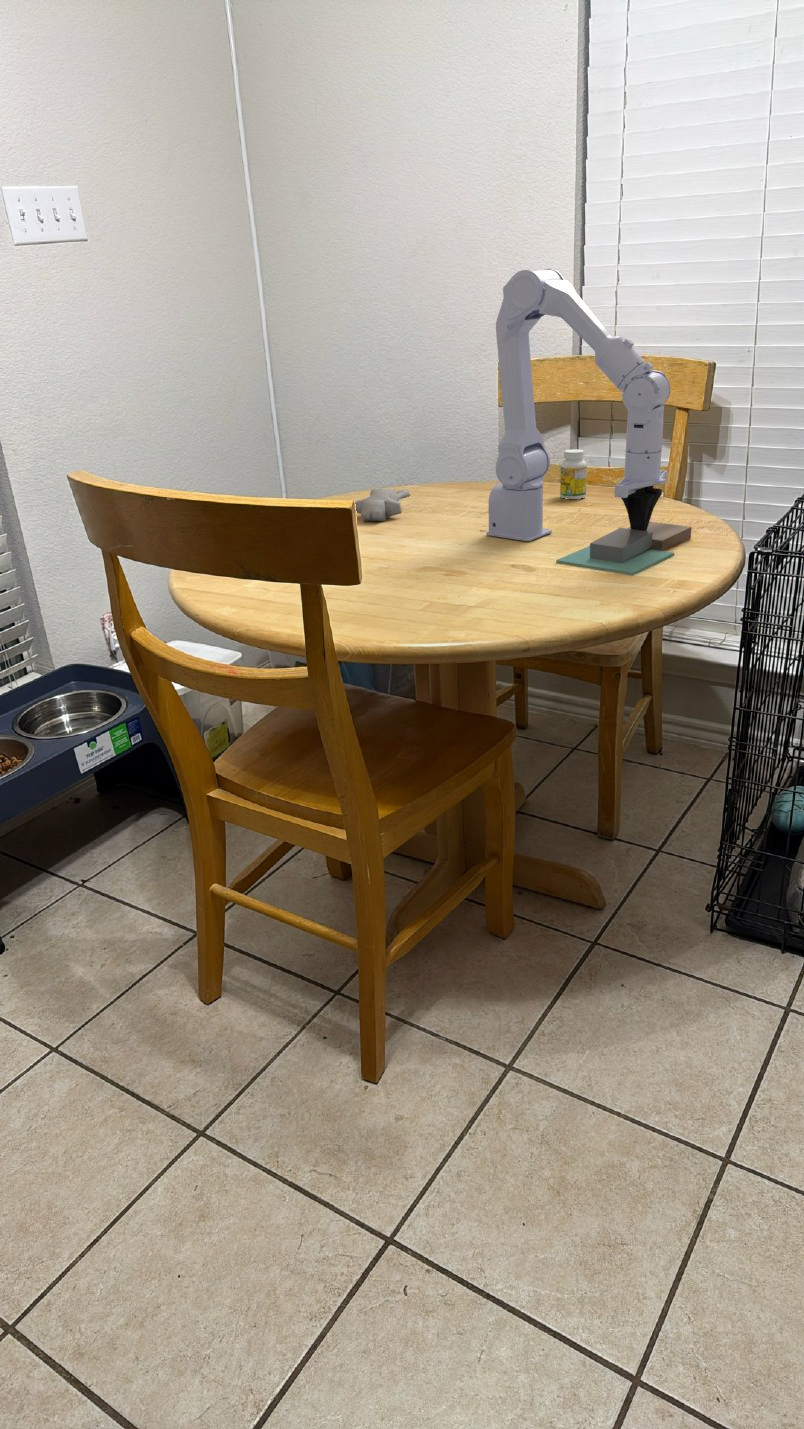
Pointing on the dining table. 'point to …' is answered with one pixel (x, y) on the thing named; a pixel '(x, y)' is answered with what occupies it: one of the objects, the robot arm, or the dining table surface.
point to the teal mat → (628, 567)
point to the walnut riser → (667, 535)
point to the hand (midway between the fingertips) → (638, 532)
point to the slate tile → (621, 545)
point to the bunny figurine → (381, 504)
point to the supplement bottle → (573, 475)
